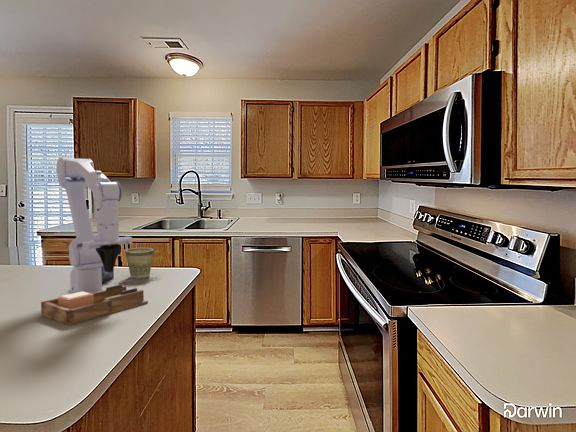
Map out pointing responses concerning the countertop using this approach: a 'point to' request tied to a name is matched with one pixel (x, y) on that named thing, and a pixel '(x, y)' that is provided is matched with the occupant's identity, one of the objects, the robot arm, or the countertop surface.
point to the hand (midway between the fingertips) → (108, 271)
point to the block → (76, 300)
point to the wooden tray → (95, 305)
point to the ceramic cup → (140, 261)
